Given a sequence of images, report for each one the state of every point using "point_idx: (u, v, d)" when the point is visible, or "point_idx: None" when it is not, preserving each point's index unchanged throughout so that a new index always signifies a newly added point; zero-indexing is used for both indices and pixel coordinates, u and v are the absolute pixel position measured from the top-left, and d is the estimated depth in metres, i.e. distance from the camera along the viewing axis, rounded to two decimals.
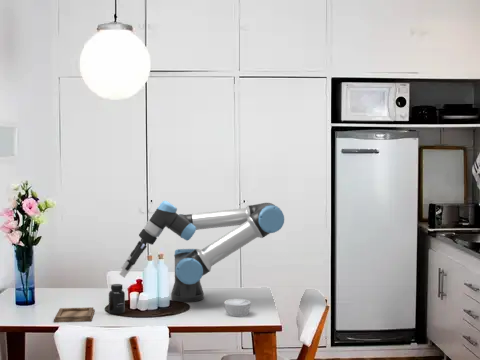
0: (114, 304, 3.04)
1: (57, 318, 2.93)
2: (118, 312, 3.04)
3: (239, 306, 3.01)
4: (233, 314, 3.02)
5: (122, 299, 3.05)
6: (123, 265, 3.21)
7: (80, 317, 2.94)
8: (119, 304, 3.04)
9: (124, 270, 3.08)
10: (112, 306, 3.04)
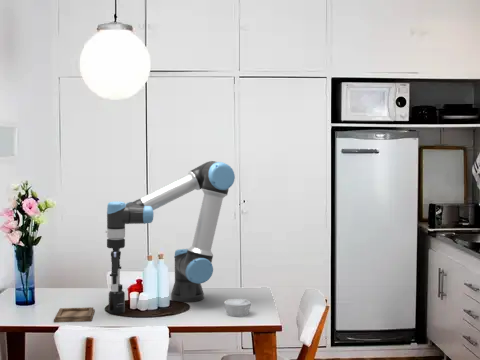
0: (114, 304, 3.04)
1: (57, 318, 2.93)
2: (118, 312, 3.04)
3: (239, 306, 3.01)
4: (233, 314, 3.02)
5: (122, 299, 3.05)
6: None
7: (80, 317, 2.94)
8: (119, 304, 3.04)
9: (113, 285, 2.99)
10: (112, 306, 3.04)
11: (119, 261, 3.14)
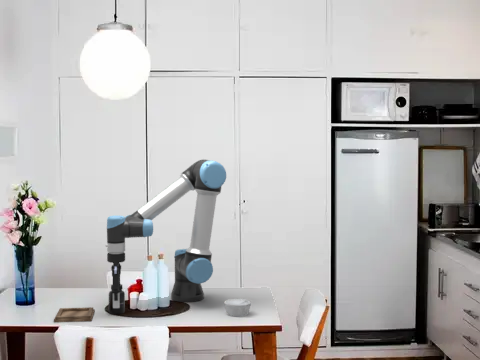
0: None
1: (57, 318, 2.93)
2: (118, 312, 3.04)
3: (239, 306, 3.01)
4: (233, 314, 3.02)
5: (122, 299, 3.05)
6: None
7: (80, 317, 2.94)
8: (119, 304, 3.04)
9: (115, 302, 3.03)
10: (112, 306, 3.04)
11: None
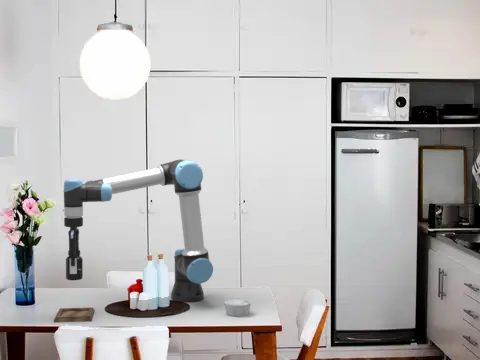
0: None
1: (57, 318, 2.93)
2: (75, 278, 2.96)
3: (239, 306, 3.01)
4: (233, 314, 3.02)
5: (79, 265, 2.97)
6: None
7: (80, 317, 2.94)
8: (77, 270, 2.96)
9: (71, 267, 2.95)
10: (69, 272, 2.96)
11: (78, 245, 3.04)
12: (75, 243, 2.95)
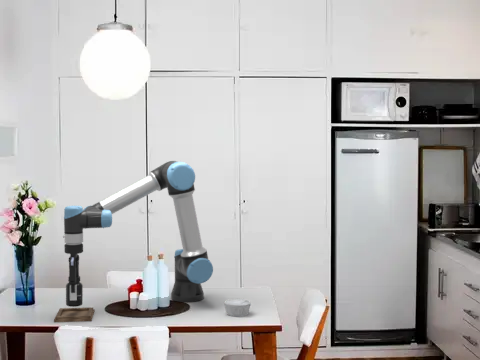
0: None
1: (57, 318, 2.93)
2: (75, 304, 2.97)
3: (239, 306, 3.01)
4: (233, 314, 3.02)
5: (79, 291, 2.98)
6: None
7: (80, 317, 2.94)
8: (77, 296, 2.97)
9: (72, 294, 2.96)
10: (69, 298, 2.97)
11: (78, 270, 3.05)
12: None
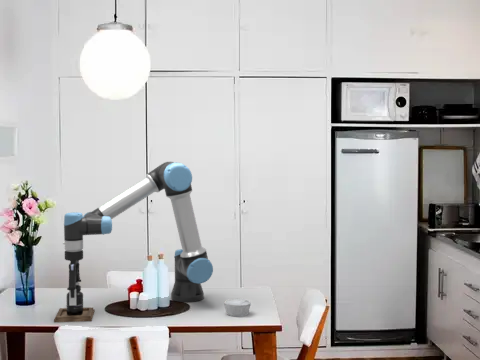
0: (72, 305, 2.97)
1: (57, 318, 2.93)
2: (76, 314, 2.98)
3: (239, 306, 3.01)
4: (233, 314, 3.02)
5: (80, 300, 2.98)
6: None
7: (80, 317, 2.94)
8: (77, 306, 2.98)
9: (71, 299, 2.93)
10: (70, 308, 2.97)
11: (79, 274, 3.07)
12: (75, 275, 2.95)
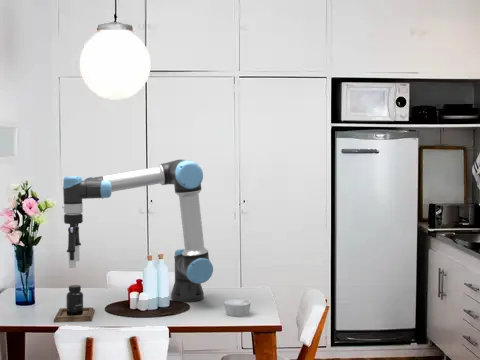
0: (72, 305, 2.97)
1: (57, 318, 2.93)
2: (76, 314, 2.98)
3: (239, 306, 3.01)
4: (233, 314, 3.02)
5: (80, 300, 2.98)
6: None
7: (80, 317, 2.94)
8: (77, 306, 2.98)
9: (71, 261, 2.92)
10: (70, 308, 2.97)
11: (78, 237, 3.06)
12: (74, 238, 2.93)
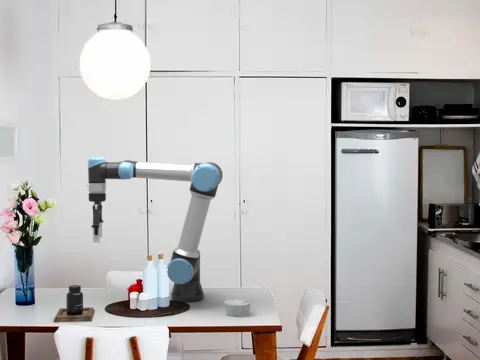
0: (72, 305, 2.97)
1: (57, 318, 2.93)
2: (76, 314, 2.98)
3: (239, 306, 3.01)
4: (233, 314, 3.02)
5: (80, 300, 2.98)
6: None
7: (80, 317, 2.94)
8: (77, 306, 2.98)
9: (95, 236, 3.14)
10: (70, 308, 2.97)
11: (101, 215, 3.28)
12: (98, 215, 3.16)
